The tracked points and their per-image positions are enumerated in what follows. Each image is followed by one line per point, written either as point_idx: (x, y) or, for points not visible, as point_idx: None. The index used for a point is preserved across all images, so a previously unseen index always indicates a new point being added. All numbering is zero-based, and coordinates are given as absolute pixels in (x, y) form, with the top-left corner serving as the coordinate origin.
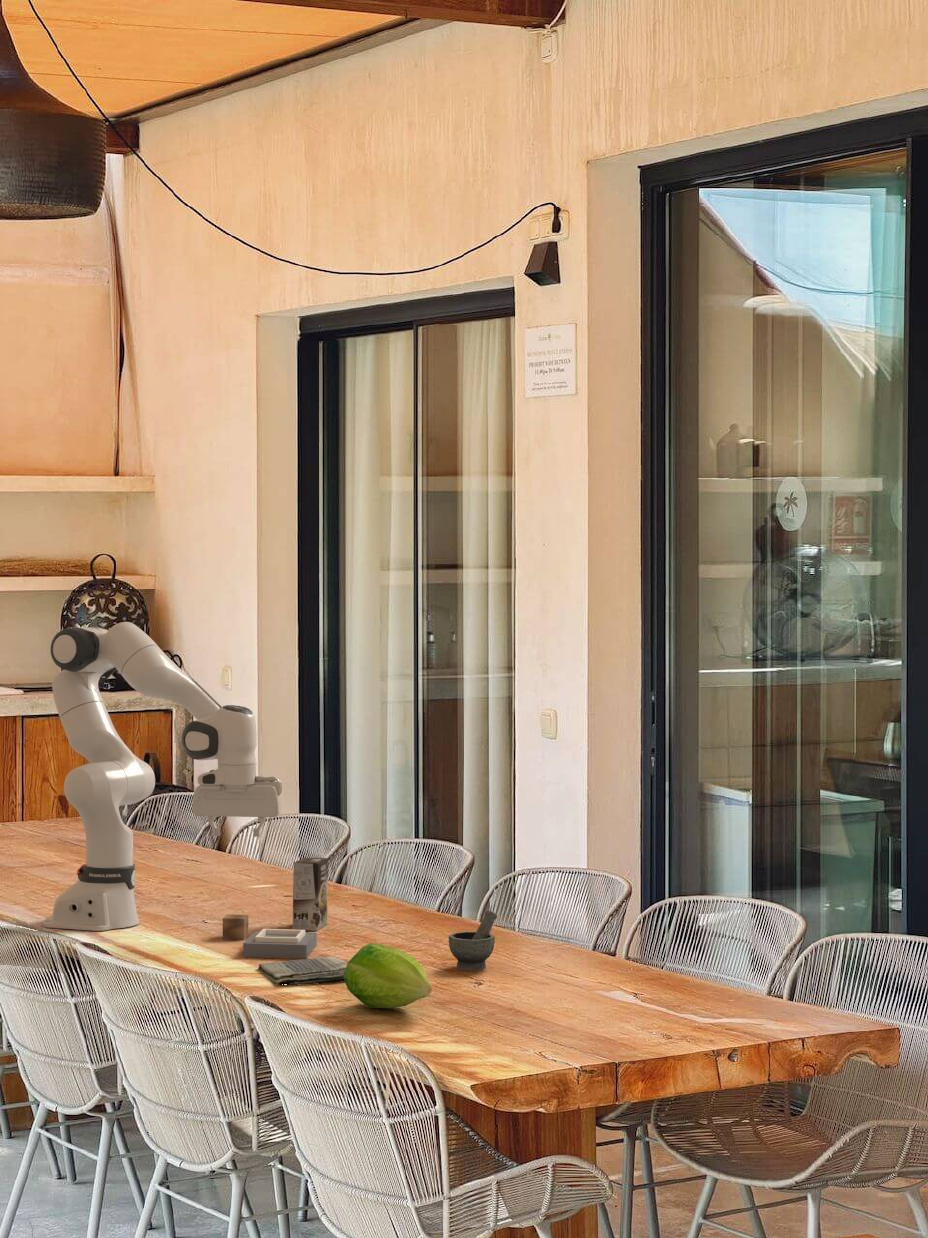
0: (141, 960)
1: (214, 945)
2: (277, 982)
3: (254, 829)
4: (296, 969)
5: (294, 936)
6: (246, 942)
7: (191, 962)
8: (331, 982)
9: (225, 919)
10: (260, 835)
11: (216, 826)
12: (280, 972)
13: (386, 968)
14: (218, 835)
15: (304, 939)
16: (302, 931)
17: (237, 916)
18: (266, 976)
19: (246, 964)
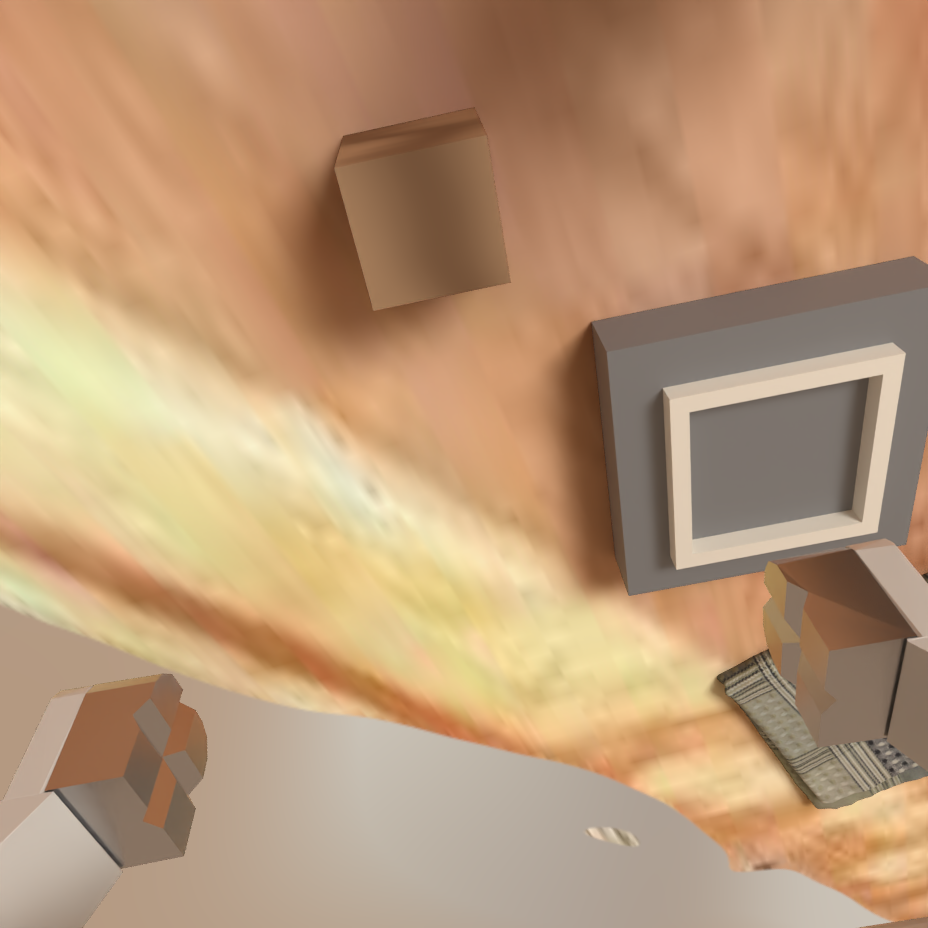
0: (274, 696)
1: (403, 402)
2: (816, 807)
3: (842, 740)
4: None
5: (838, 408)
6: (637, 580)
7: (458, 669)
8: None
9: (391, 305)
10: (883, 543)
11: (39, 812)
12: (817, 758)
13: None
14: (199, 741)
15: (893, 452)
16: (891, 393)
17: (437, 221)
18: (763, 738)
19: (659, 637)
